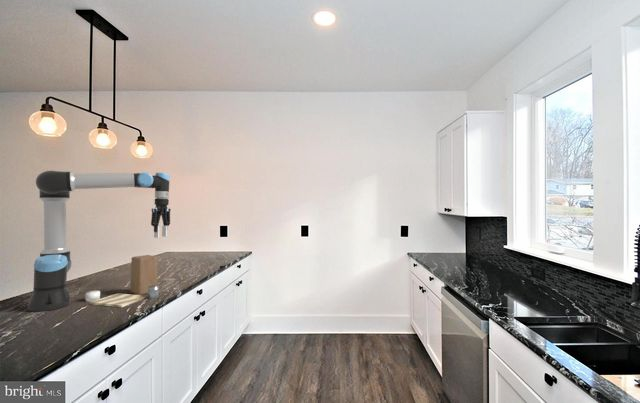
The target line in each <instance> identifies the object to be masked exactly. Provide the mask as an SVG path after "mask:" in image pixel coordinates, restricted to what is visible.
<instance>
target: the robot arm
mask: <svg viewBox="0 0 640 403" xmlns="http://www.w3.org/2000/svg"><path fill="white" fill-rule="evenodd" d="M35 185H36V187H37V189H38V190H39V199H40V200H41V201H42V202H43V250H42V251H40V252H39V256H38V257H37V258H36V259H35V260H34V264H33V274H34V275H33V290H32V291H33V292H32V294H31V297H30V298H29V301H28V303H27V307H26V308H27V309H26V310H27V311H29V312H45V311H46V312H47V311H51V310H57V309H61V308H64V307H67V306H69V305H70V304H71V296H70V294H69V292H68V289H67V281H68V280H67V278H68V277H67V276H68V272H69V271H70V270H71V267H72V265H73V264H72V260H71V250H70V249H69V248H68V247H67V201H68V200H69V199H71V198H70V193H71V192H74V191H75V190H86V189H87V190H89V189H116V188H117V189H119V188H122V189H123V188H138V189H139V188H142V189H154V205H155V208H151V219H150V220H151V221H150V225H151V227H153V232H154V233H153V238H155V239H156V238H160V226H159V225H160V219H162V223H163V224H162V226H161V236H162V237H167V235H168V227H169V226H170V224H171V210H172V209H171V208H168V206H169V202H170V199H169V197H170V193H169V192H170V174H169V173H167V172H155V174H154V175H152V174H150V173H149V172H139V173H138V172H136V173H133V172H132V173H131V172H128V173H127V172H126V173H124V172H121V173H120V172H119V173H118V172H117V173H116V172H115V173H73V172H72V171H60V170H59V171H58V170H45V171H42V172H40V173H39V174H38V175H37V177H36V178H35Z"/></svg>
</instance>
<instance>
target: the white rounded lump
mask: <svg viewBox="0 0 640 403" xmlns="http://www.w3.org/2000/svg"><path fill="white" fill-rule="evenodd" d="M98 299H101V291H100V290H90V291H87V292H85V298H84V300H85V302H87V303H90V302H92V301H95V300H98Z"/></svg>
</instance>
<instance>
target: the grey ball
mask: <svg viewBox="0 0 640 403" xmlns="http://www.w3.org/2000/svg"><path fill="white" fill-rule="evenodd" d="M159 293H160V284H157V285H152V286H149V287H148V294H147V299H148V300H156V299H158V298H159V296H160V294H159Z"/></svg>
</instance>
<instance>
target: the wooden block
mask: <svg viewBox="0 0 640 403" xmlns="http://www.w3.org/2000/svg"><path fill="white" fill-rule="evenodd" d="M158 260H159V258H158V257H157V255H156V256H155V255H152V254H151V255H150V254H145V255H137V256H132V257H131V261H130V262H131V264H130V265H131V266H130V267H131V268H130V287H129V288H130V290H129V291H130V293H131V294H133V295H148V287H149V286H152V285H158Z"/></svg>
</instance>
